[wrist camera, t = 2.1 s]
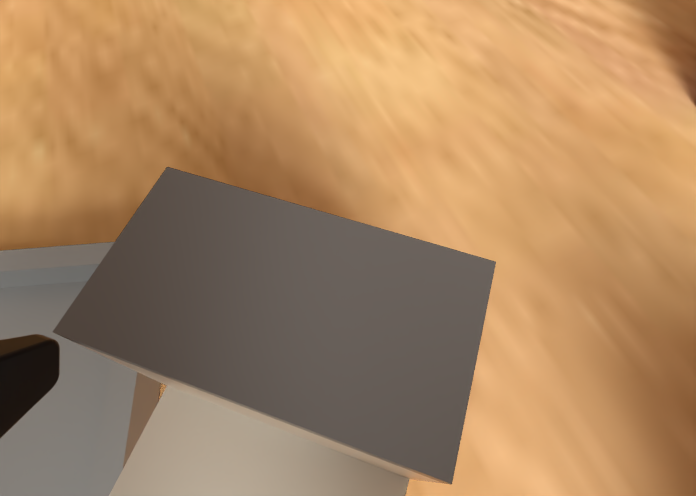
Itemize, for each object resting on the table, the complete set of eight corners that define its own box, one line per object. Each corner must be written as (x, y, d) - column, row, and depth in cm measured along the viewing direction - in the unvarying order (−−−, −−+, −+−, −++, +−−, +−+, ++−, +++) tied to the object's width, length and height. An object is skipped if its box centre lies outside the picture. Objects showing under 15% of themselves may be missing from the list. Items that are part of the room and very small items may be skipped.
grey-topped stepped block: (361, 554, 14) (390, 793, 4) (217, 493, 15) (-96, 543, 5) (408, 380, 17) (502, 228, 6) (283, 337, 18) (184, 140, 7)
